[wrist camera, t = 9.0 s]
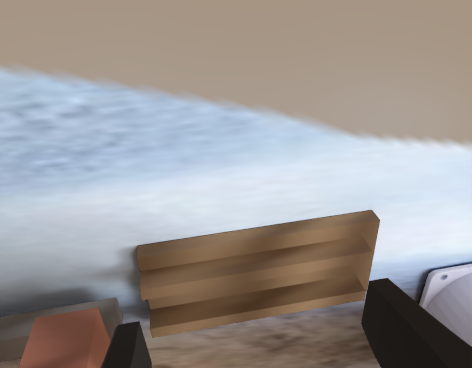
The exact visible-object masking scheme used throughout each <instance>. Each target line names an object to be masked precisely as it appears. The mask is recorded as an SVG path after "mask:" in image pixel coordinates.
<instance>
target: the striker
mask: <svg viewBox="0 0 472 368" xmlns="http://www.w3.org/2000/svg"><path fill="white" fill-rule="evenodd" d="M122 318H123V316H122V313H121V310H120V307H119V304H118V301H117V298H110V299H104V300H98V301H92V302H86V303H80V304H74V305H68V306H62V307H56V308H50V309H44V310H38V311H32V312H26V313H20V314H14V315H8V316H2V317H0V362H1V361H7V360H12V359H18V358H22V359H21V362H20V365H19V368H101V365H102V363H103V360H104V358H105V355H106V353H107V350H108V348H109V345H110V342H111V339H112V337H113V334H114V331H115V328H116V327H117V326H118V325H121V324H122Z"/></svg>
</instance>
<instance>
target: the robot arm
mask: <svg viewBox="0 0 472 368" xmlns="http://www.w3.org/2000/svg"><path fill="white" fill-rule="evenodd" d="M361 324H362V326H363V329H364V331H365V334H366V336H367V339H368V341H369V344H370V346H371V348H372V351H373V353H374V355H375V357H376V359H377V361H378V363H379V364H380V366H381V368H472V264H467V265H461V266H455V267H449V268H444V269H438V270H434V271H432V272H430V273H429V275H428V277H427V281H426V284H425V287H424V291H423V294H422V297H421V300H420V304H418V303H416V302H415V301H414V300H413V299H412V298H410V297H409V296H408V295H407V294H406V293H405V292H403V291H402V290H401V289H400V288H399V287H397V286H396V285H395V284H394V283H393V282H391V281H390V280H389V279H388V278H385V279H379V280H373V281H369V285H368V290H367V295H366V301H365V306H364V311H363V317H362V322H361ZM101 368H152V363H151V359H150V356H149V352H148V349H147V346H146V342H145V339H144V336H143V332H142V329H141V325H140V322H139V321H138V322H132V323H126V324H121V325H118V326H117V327H116V328H115V331H114V334H113V337H112V339H111V342H110V345H109V348H108V350H107V353H106V355H105V358H104V360H103V363H102V365H101Z"/></svg>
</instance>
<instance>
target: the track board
mask: <svg viewBox="0 0 472 368" xmlns="http://www.w3.org/2000/svg"><path fill="white" fill-rule="evenodd" d="M379 223H380V219H379V218H378V217H377V216H376V214H375V213H374V212H373V211H372V210H369V211H363V212H356V213H350V214H343V215H336V216H330V217H323V218H317V219H310V220H304V221H297V222H290V223H284V224H277V225H271V226H264V227H258V228H251V229H244V230H238V231H231V232H225V233H218V234H212V235H205V236H198V237H192V238H185V239H179V240H172V241H166V242H159V243H152V244H146V245H139V246H138V248H137V261H138V265H139V268H140V282H139V292H140V296H141V299H142V300H148V302H149V306H150V331H151V335H152V338H154V337H160V336H166V335H171V334H177V333H182V332H188V331H193V330H199V329H204V328H210V327H216V326H221V325H227V324H232V323H238V322H243V321H249V320H255V319H260V318H266V317H271V316H277V315H282V314H288V313H293V312H299V311H305V310H310V309H316V308H321V307H327V306H332V305H338V304H343V303H349V302H355V301H360V300H364V297H365V291H367V287H368V282H369V276H370V271H371V266H372V260H373V255H374V250H375V244H376V239H377V234H378V228H379Z"/></svg>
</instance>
